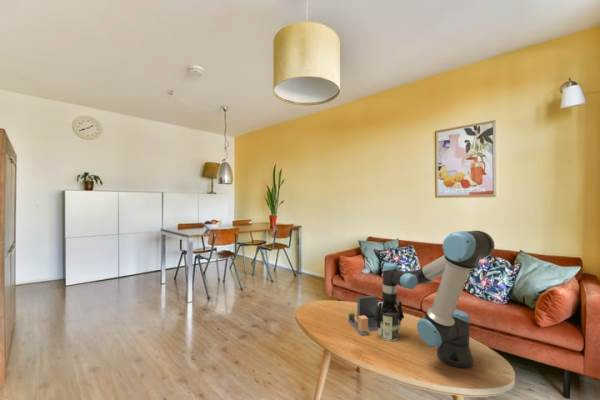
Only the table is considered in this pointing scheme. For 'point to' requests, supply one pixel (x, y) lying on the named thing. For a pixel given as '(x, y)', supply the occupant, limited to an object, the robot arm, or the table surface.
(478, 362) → the table surface
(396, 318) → the coffee can
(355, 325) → the rail
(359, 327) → the lever knob
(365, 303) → the tray
